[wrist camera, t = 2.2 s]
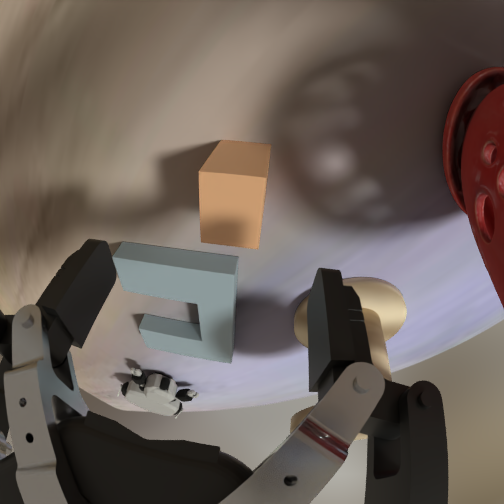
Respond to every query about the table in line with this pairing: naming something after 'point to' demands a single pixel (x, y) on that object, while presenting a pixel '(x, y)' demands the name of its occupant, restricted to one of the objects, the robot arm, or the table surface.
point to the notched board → (184, 297)
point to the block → (233, 193)
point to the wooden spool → (375, 318)
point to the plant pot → (479, 164)
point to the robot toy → (156, 393)
